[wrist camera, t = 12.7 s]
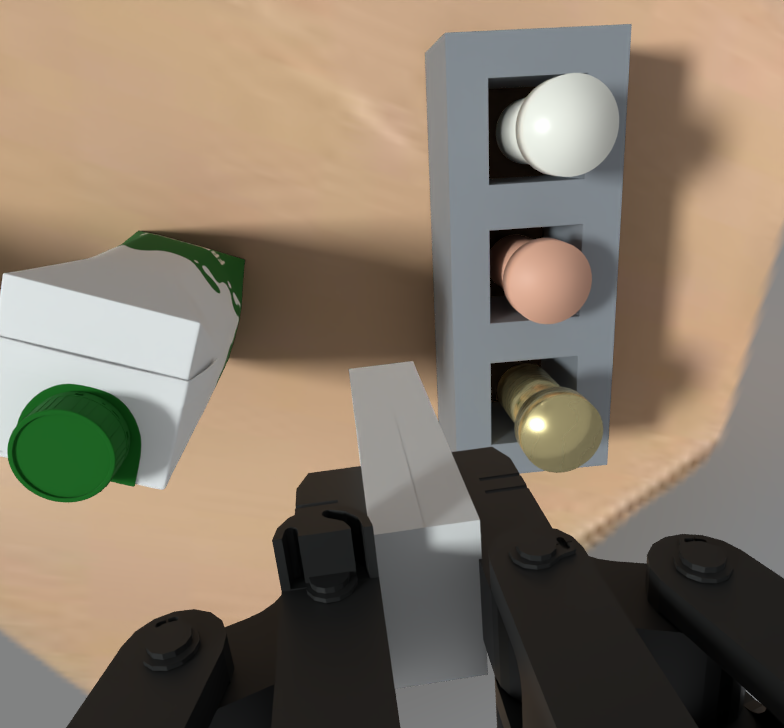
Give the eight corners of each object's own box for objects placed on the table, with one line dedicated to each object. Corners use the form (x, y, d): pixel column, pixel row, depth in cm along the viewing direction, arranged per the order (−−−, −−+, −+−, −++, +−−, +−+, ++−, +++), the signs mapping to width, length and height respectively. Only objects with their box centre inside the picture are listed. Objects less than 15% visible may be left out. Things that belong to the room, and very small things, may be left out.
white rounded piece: (486, 90, 36) (524, 75, 29) (565, 86, 36) (621, 70, 30) (487, 175, 38) (523, 179, 31) (563, 170, 38) (616, 173, 31)
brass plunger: (489, 359, 41) (522, 400, 34) (558, 352, 41) (605, 392, 35) (489, 424, 43) (521, 476, 36) (556, 417, 43) (601, 468, 36)
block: (425, 53, 40) (444, 32, 33) (581, 45, 40) (631, 24, 34) (439, 434, 48) (457, 479, 41) (568, 422, 49) (607, 464, 42)
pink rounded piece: (478, 229, 41) (510, 244, 34) (548, 224, 41) (593, 238, 34) (479, 299, 42) (510, 327, 35) (547, 294, 43) (590, 320, 36)
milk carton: (104, 341, 43) (-69, 487, 24) (127, 210, 41) (-45, 258, 22) (233, 372, 45) (165, 532, 26) (263, 248, 42) (212, 323, 23)
